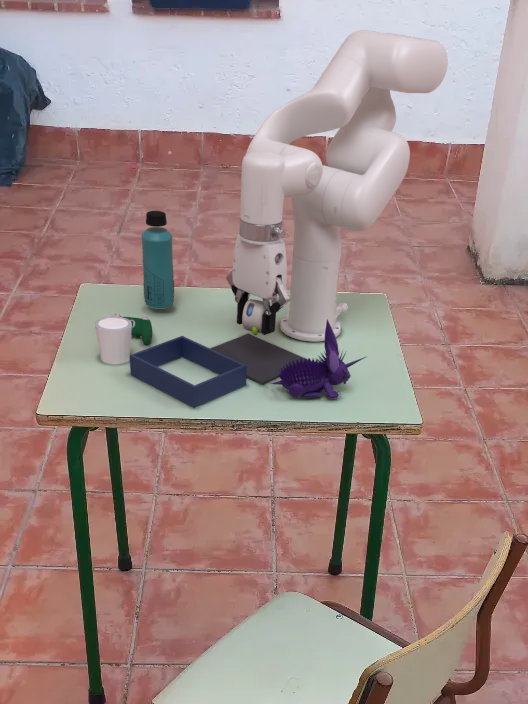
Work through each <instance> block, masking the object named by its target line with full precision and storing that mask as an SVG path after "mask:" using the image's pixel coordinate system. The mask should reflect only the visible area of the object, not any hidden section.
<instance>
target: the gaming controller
mask: <svg viewBox="0 0 528 704" xmlns="http://www.w3.org/2000/svg"><path fill="white" fill-rule="evenodd" d="M114 316H117V317H123V318H126V319H129V320H130V321H131V323H132V330H131V337H136V338H141V339H142V342H143V345H146V346H148V345H150V344H151V342H152V339H153V325H152V322H151V320H150V318H149V317H148V316H147V315H145V314H143V315H142V317H141V318H140V317H134V316H133V317H132V316H122V315H121V313H119V312H116V313H115V314H114Z"/></svg>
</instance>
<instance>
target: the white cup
mask: <svg viewBox="0 0 528 704" xmlns="http://www.w3.org/2000/svg"><path fill="white" fill-rule="evenodd" d="M123 317H124V316H121V317H117V316H115V315H114V316H113V315H111V316H104V317H101V318H98V319H97V320H96V321H95V322H94V326H95V331H96V338H97V344H98V351H99V355H100V360H101V362H102V363H105V364H107V365H115V366H116V365H123V364H126V363H129V362H130V355H131V351H132V350H131V349H132V336H131V330H132V323H131V321H130V320H129V319H126V318H123Z"/></svg>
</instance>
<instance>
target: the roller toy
mask: <svg viewBox="0 0 528 704" xmlns="http://www.w3.org/2000/svg"><path fill="white" fill-rule="evenodd" d="M263 314H265V310H264V305H263V300H260V299H253V298H249V299H248V301H247V302H246V304H245V306H244V310H243V315H242V324H241V325H242V327H243V329H244V330H245V331H248V332H251V333H252V335H253V336H255V337H257V336H258V335H259V334H262V333H261V330H262V315H263Z"/></svg>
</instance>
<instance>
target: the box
mask: <svg viewBox="0 0 528 704" xmlns="http://www.w3.org/2000/svg"><path fill="white" fill-rule="evenodd" d="M181 358H184V359H186V360H188V361H190V362H192V363H194V364H196V365H198V366H201V367H202V368H204V369H206V370H209V371H211V372H213V373H215V374H217V375H216V376H213V377H211V378H208V379H206V380H203V381H201V382H199V383H196V384H193V383H191V382H189V381H187V380H185V379H183V378H181V377H179V376H176V375H175V374H172V373H171V372H169V371H166V370H165V369H162V368H161V367H160V366H163V365H165V364H168V363H170V362H173V361H176V360H178V359H181ZM129 368H130V369H129V370H130V372H129V373H130V376H131V377H133V378H135V379H137V380H139V381H141V382H142V383H145V384H146V385H149V386H151V387H153V388H155V389H157V390H159V391H161V392H163V393H164V394H166V395H168V396H170V397H172V398H174V399H176V400H178V401H180V402H182V403H184V404H186V405H187V406H189V407H192V408H193V409H196V408H198V407H200V406H203V405H204V404H207V403H209V402H212V401H214V400H216V399H218V398H221V397H223V396H225V395H228V394H229V393H232V392H234V391H237V390H239V389H241V388H243V387H245V386H247V377H246V371H247V365H245V364H242V363H240V362H238V361H236V360H234V359H232V358H229V357H227V356H225V355H223V354H221V353H219V352H216V351H214V350H212V349H210V347H208V346H205V345H204V344H201V343H200V342H197V341H195V340H193V339H190V338H188V337H186V336H184V335H181V336H178V337H175V338H171V339H169V340H167V341H164V342H161V343H158V344H156V345H154V346H153V345H152V346H151V347H148V348H145V349H142V350H140V351H137V352H134V353H132V354H131V353H130V360H129Z"/></svg>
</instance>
